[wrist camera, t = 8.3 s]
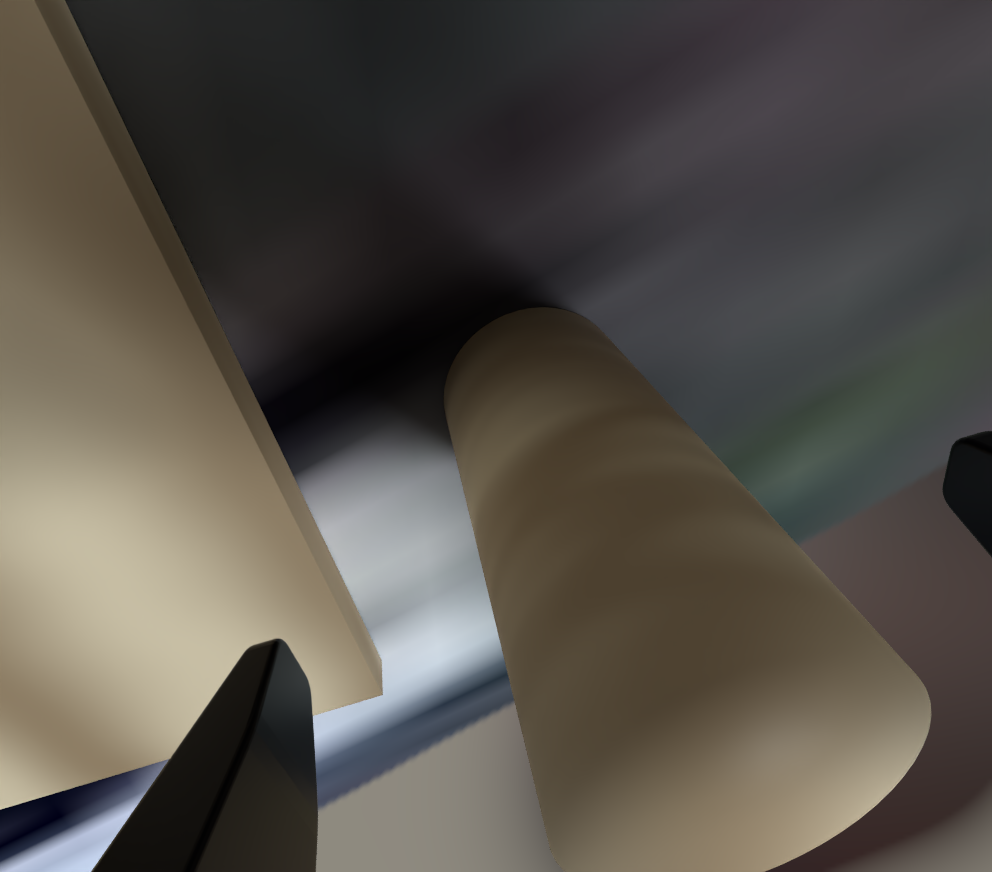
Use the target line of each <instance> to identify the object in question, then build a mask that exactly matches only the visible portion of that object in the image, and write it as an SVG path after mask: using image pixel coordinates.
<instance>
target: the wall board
mask: <svg viewBox="0 0 992 872" xmlns="http://www.w3.org/2000/svg"><path fill="white" fill-rule="evenodd" d="M276 638H280V639H283V640H284V641H285V642H286V643H287V644H288V646H289V648H290V649H291V651H292V653H293V654H294V656H295V658H296V659H297V661H298V663H299V664H300V666H301V668H302V670H303V671H304V673H305V675H306V676H307V679H308V681H309V685H310V689H311V696H312V713H313V716H314V715H317V714H320V713H324V712H327V711H331V710H334V709H337V708H341V707H344V706H347V705H351V704H354V703H357V702H361V701H364V700H367V699H371V698H374V697H377V696H381V695H383V689H382V660H381V658H380V656H379V654H378V652H377V650H376V648H375V645H374V643H373V641H372V639H371V637H370V635H369V633H368V631H367V629H366V627H365V625H364V623H363V620H362V618H361V616H360V614H359V612H358V610H357V608H356V606H355V604H354V602H353V600H352V598H351V595H350V593H349V591H348V589H347V587H346V585H345V583H344V581H343V579H342V577H341V575H340V573H339V570H338V568H337V566H336V564H335V562H334V560H333V558H332V556H331V554H330V552H329V550H328V548H327V545H326V543H325V541H324V539H323V537H322V535H321V533H320V531H319V529H318V527H317V525H316V523H315V520H314V518H313V516H312V514H311V512H310V510H309V508H308V506H307V504H306V502H305V500H304V498H303V495H302V493H301V491H300V489H299V487H298V485H297V483H296V481H295V479H294V477H293V475H292V473H291V470H290V468H289V466H288V464H287V462H286V460H285V458H284V456H283V454H282V452H281V450H280V448H279V445H278V443H277V441H276V439H275V437H274V435H273V433H272V431H271V429H270V427H269V425H268V423H267V420H266V418H265V416H264V414H263V412H262V410H261V408H260V406H259V404H258V402H257V400H256V398H255V395H254V393H253V391H252V389H251V387H250V385H249V383H248V381H247V379H246V377H245V375H244V372H243V370H242V368H241V366H240V364H239V362H238V360H237V358H236V356H235V354H234V352H233V350H232V347H231V345H230V343H229V341H228V339H227V337H226V335H225V333H224V331H223V329H222V327H221V325H220V322H219V320H218V318H217V316H216V314H215V312H214V310H213V308H212V306H211V304H210V302H209V300H208V297H207V295H206V293H205V291H204V289H203V287H202V285H201V283H200V281H199V279H198V277H197V275H196V272H195V270H194V268H193V266H192V264H191V262H190V260H189V258H188V256H187V254H186V252H185V250H184V247H183V245H182V243H181V241H180V239H179V237H178V235H177V233H176V231H175V229H174V227H173V225H172V222H171V220H170V218H169V216H168V214H167V212H166V210H165V208H164V206H163V204H162V202H161V200H160V197H159V195H158V193H157V191H156V189H155V187H154V185H153V183H152V181H151V179H150V177H149V175H148V172H147V170H146V168H145V166H144V164H143V162H142V160H141V158H140V156H139V154H138V152H137V150H136V147H135V145H134V143H133V141H132V139H131V137H130V135H129V133H128V131H127V129H126V127H125V125H124V122H123V120H122V118H121V116H120V114H119V112H118V110H117V108H116V106H115V104H114V102H113V100H112V97H111V95H110V93H109V91H108V89H107V87H106V85H105V83H104V81H103V79H102V77H101V75H100V72H99V70H98V68H97V66H96V64H95V62H94V60H93V58H92V56H91V54H90V52H89V50H88V47H87V45H86V43H85V41H84V39H83V37H82V35H81V33H80V31H79V29H78V27H77V25H76V22H75V20H74V18H73V16H72V14H71V12H70V10H69V8H68V6H67V4H66V2H65V0H0V809H3V808H7V807H10V806H13V805H17V804H20V803H23V802H27V801H30V800H34V799H37V798H40V797H44V796H47V795H50V794H54V793H57V792H60V791H64V790H67V789H70V788H74V787H77V786H80V785H84V784H87V783H90V782H94V781H97V780H100V779H104V778H107V777H110V776H114V775H117V774H120V773H124V772H127V771H130V770H134V769H137V768H140V767H144V766H147V765H150V764H154V763H157V762H160V761H164V760H167V759H170V758H171V756H172V755H173V753H174V752H175V751H176V749H177V748H178V746H179V745H180V743H181V742H182V741H183V739H184V738H185V736H186V735H187V733H188V732H189V730H190V729H191V728H192V726H193V725H194V723H195V722H196V720H197V719H198V718H199V716H200V715H201V713H202V712H203V710H204V709H205V707H206V706H207V705H208V703H209V702H210V700H211V699H212V697H213V696H214V695H215V693H216V692H217V690H218V689H219V687H220V686H221V684H222V683H223V682H224V680H225V679H226V677H227V676H228V674H229V673H230V672H231V670H232V669H233V667H234V666H235V664H236V663H237V661H238V660H239V659H240V657H241V656H242V654H243V653H244V652H245V650H246V649H248V648H249V647H250V646H252V645H255V644H258V643H262V642H265V641H269V640H272V639H276Z"/></svg>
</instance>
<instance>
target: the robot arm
mask: <svg viewBox="0 0 992 872" xmlns="http://www.w3.org/2000/svg"><path fill="white" fill-rule="evenodd" d="M943 495H944V498H945V500H946V502H947V504H948V506H949V507H950V508H951V510H952V511H953V512H954V513H955V514H956V516H957V517H958V518H959V519H960V520H961V522H962V523H963V524H964V525H965V526H966V527H967V529H968V530H969V531H970V532H971V533H972V535H973V536H974V537H975V538H976V539H977V541H978V542H979V543H980V544H981V545H982V547H983V548H984V549H985V550H986V551H987V552H988V554H989V555H990V556H991V557H992V431H985V432H980V433H977V434H974V435H970V436H967V437H963V438H960V439H958V440H957V441H956V442H955V443H954V444H953V445H952V448H951V451H950V455H949V460H948V464H947V469H946V474H945V478H944V483H943ZM317 832H318V804H317V783H316V766H315V748H314V731H313V713H312V696H311V689H310V685H309V681H308V679H307V676H306V675H305V673H304V671H303V670H302V668H301V666H300V664H299V663H298V661H297V659H296V658H295V656H294V654H293V653H292V651H291V649H290V648H289V646H288V644H287V643H286V642H285V641H284V640H283V639H280V638H276V639H272V640H269V641H265V642H262V643H258V644H255V645H252V646H250V647H249V648H248V649H246V650H245V652H244V653H243V654H242V656H241V657H240V659H239V660H238V661H237V663H236V664H235V666H234V667H233V669H232V670H231V672H230V673H229V674H228V676H227V677H226V679H225V680H224V682H223V683H222V684H221V686H220V687H219V689H218V690H217V692H216V693H215V695H214V696H213V697H212V699H211V700H210V702H209V703H208V705H207V706H206V707H205V709H204V710H203V712H202V713H201V715H200V716H199V718H198V719H197V720H196V722H195V723H194V725H193V726H192V728H191V729H190V730H189V732H188V733H187V735H186V736H185V738H184V739H183V741H182V742H181V743H180V745H179V746H178V748H177V749H176V751H175V752H174V753H173V755H172V756H171V758H170V759H169V761H168V762H167V764H166V765H165V766H164V768H163V769H162V771H161V772H160V774H159V775H158V776H157V778H156V779H155V781H154V782H153V784H152V785H151V787H150V788H149V789H148V791H147V792H146V794H145V795H144V797H143V798H142V799H141V801H140V802H139V804H138V805H137V807H136V808H135V809H134V811H133V812H132V814H131V815H130V817H129V818H128V820H127V821H126V822H125V824H124V825H123V827H122V828H121V830H120V831H119V832H118V834H117V835H116V837H115V838H114V840H113V841H112V843H111V844H110V845H109V847H108V848H107V850H106V851H105V853H104V854H103V855H102V857H101V858H100V860H99V861H98V863H97V864H96V866H95V867H94V868H93V870H92V871H91V872H316V855H317Z"/></svg>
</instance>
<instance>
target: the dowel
mask: <svg viewBox="0 0 992 872" xmlns="http://www.w3.org/2000/svg"><path fill="white" fill-rule="evenodd" d="M444 410H445V415H446V419H447V424H448V428H449V432H450V436H451V440H452V444H453V448H454V453H455V457H456V461H457V465H458V469H459V473H460V477H461V482H462V486H463V490H464V494H465V498H466V502H467V506H468V511H469V515H470V519H471V523H472V527H473V531H474V535H475V539H476V544H477V548H478V552H479V556H480V560H481V564H482V568H483V573H484V577H485V581H486V585H487V589H488V593H489V597H490V602H491V606H492V610H493V614H494V618H495V622H496V626H497V631H498V635H499V639H500V643H501V647H502V651H503V655H504V660H505V664H506V668H507V672H508V676H509V680H510V684H511V689H512V693H513V697H514V701H515V705H516V709H517V713H518V718H519V721H520V726H521V730H522V734H523V737H524V742H525V746H526V750H527V755H528V759H529V763H530V767H531V771H532V775H533V780H534V784H535V787H536V792H537V796H538V800H539V804H540V808H541V812H542V817H543V821H544V825H545V829H546V833H547V837H548V842H549V845H550V850H551V852H552V854H553V856H554V858H555V860H556V862H557V864H558V865H559V866H560V867H561V868H562V869H563V870H564V872H765V871H767V870H769V869H772V868H774V867H777V866H779V865H781V864H784V863H786V862H788V861H790V860H792V859H794V858H796V857H798V856H800V855H802V854H804V853H806V852H808V851H810V850H812V849H814V848H815V847H817V846H818V845H821V844H823V843H824V842H826V841H828V840H829V839H830V838H832V837H834V836H835V835H837V834H839V833H840V832H842V831H843V830H845V829H846V828H847V827H849V826H850V825H852V824H853V823H854V822H856V821H857V820H858V819H860V818H861V817H862V816H864V815H865V814H866V813H867V812H868V811H870V810H871V809H872V808H873V807H874V806H875V805H877V804H878V803H879V802H880V801H881V800H882V799H883V798H884V797H885V796H886V795H887V794H888V793H889V792H890V791H891V790H892V789H893V788H894V787H895V786H896V785H897V783H898V782H899V781H900V780H901V779H902V778H903V777H904V775H905V774H906V773H907V771H908V770H909V768H910V767H911V766H912V764H913V763H914V761H915V760H916V758H917V756H918V754H919V752H920V751H921V749H922V747H923V745H924V742H925V739H926V737H927V734H928V731H929V726H930V720H931V704H930V699H929V696H928V693H927V689H926V688H925V686H924V685H923V683H922V682H921V680H920V679H919V677H918V676H917V675H916V674H915V673H914V672H913V671H912V670H911V669H910V667H909V666H908V665H907V664H906V663H905V662H904V661H903V660H902V659H901V658H900V657H899V655H898V654H897V653H896V652H895V651H894V650H893V649H892V648H891V647H890V646H889V645H888V643H887V642H886V641H885V640H884V639H883V638H882V637H881V636H880V635H879V634H878V633H877V632H876V630H874V628H873V627H872V626H871V625H870V624H869V623H868V621H867V620H866V619H865V618H864V617H863V616H862V615H861V614H860V613H859V612H858V611H857V609H855V607H854V606H853V605H852V604H851V603H850V602H849V601H848V600H847V599H846V598H845V596H844V595H843V594H842V593H841V592H840V591H839V590H838V589H837V588H836V587H835V585H834V584H833V583H832V582H831V581H830V580H829V579H828V578H827V577H826V576H825V574H823V572H822V571H821V570H820V569H819V568H818V567H817V566H816V565H815V564H814V562H813V561H812V560H811V559H810V558H809V557H808V556H807V555H806V554H805V553H804V551H802V549H801V548H800V547H799V546H798V545H797V544H796V543H795V542H794V541H793V539H792V538H791V537H790V536H789V535H788V534H787V533H786V532H785V531H784V530H783V529H782V527H781V526H780V525H779V524H778V523H777V522H776V521H775V520H774V519H773V518H772V516H771V515H770V514H769V513H768V512H767V511H766V510H765V509H764V508H763V507H762V506H761V504H760V503H759V502H758V501H757V500H756V499H755V498H754V497H753V496H752V495H751V494H750V492H749V491H748V490H747V489H746V488H745V487H744V486H743V485H742V484H741V483H740V481H739V480H738V479H737V478H736V477H735V476H734V475H733V474H732V473H731V472H730V471H729V469H728V468H727V467H726V466H725V465H724V464H723V463H722V462H721V461H720V460H719V459H718V457H717V456H716V455H715V454H714V453H713V452H712V451H711V450H710V449H709V448H708V446H707V445H706V444H705V443H704V442H703V441H702V440H701V439H700V438H699V437H698V436H697V434H696V433H695V432H694V431H693V430H692V429H691V428H690V427H689V426H688V425H687V424H686V422H685V421H684V420H683V419H682V418H681V417H680V416H679V415H678V414H677V413H676V411H675V410H674V409H673V408H672V407H671V406H670V405H669V404H668V403H667V402H666V401H665V399H664V398H663V397H662V396H661V395H660V394H659V393H658V392H657V391H656V390H655V389H654V387H653V386H652V385H651V384H650V383H649V382H648V381H647V380H646V379H645V378H644V376H643V375H642V374H641V373H640V372H639V371H638V370H637V369H636V368H635V367H634V366H633V364H632V363H631V362H630V361H629V360H628V359H627V358H626V357H625V356H624V355H623V354H622V352H621V351H620V350H619V349H618V348H617V347H616V346H615V345H614V344H613V343H612V341H611V340H610V339H609V338H608V337H607V336H606V335H605V334H604V333H603V332H602V331H601V330H600V329H599V328H598V327H597V326H596V325H595V324H593V323H592V322H590V321H589V320H588V319H586V318H584V317H582V316H580V315H578V314H576V313H573V312H570V311H567V310H563V309H557V308H547V307H538V308H528V309H523V310H518V311H515V312H512V313H509V314H506V315H504V316H502V317H499V318H497V319H495V320H493V321H492V322H490V323H489V324H487V325H486V326H484V327H482V328H481V329H480V330H479V331H478V332H476V333H475V334H474V335H473V336H472V337H471V338H470V339H469V340H468V341H467V342H466V343H465V344H464V346H463V347H462V348H461V350H460V351H459V353H458V354H457V356H456V357H455V359H454V361H453V363H452V365H451V367H450V370H449V373H448V375H447V379H446V383H445V388H444Z"/></svg>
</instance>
